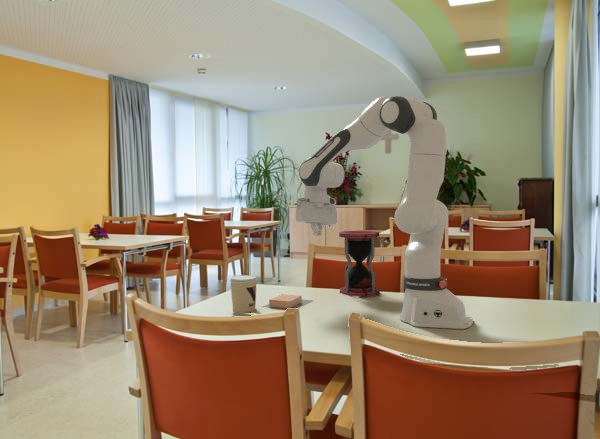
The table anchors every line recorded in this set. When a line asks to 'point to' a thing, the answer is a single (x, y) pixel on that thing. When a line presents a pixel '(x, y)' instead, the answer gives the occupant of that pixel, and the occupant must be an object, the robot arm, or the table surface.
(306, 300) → the slate board
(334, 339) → the table surface
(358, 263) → the hourglass
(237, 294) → the coffee cup
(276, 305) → the picture frame
